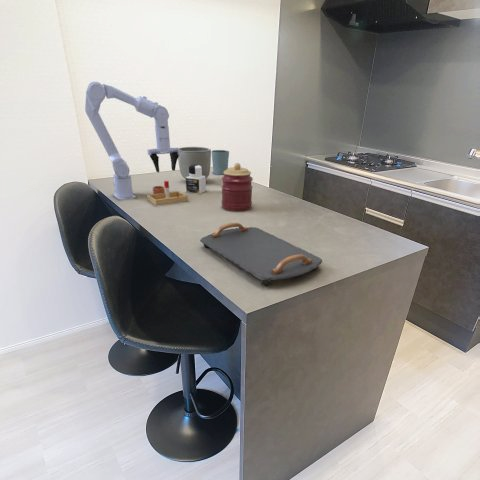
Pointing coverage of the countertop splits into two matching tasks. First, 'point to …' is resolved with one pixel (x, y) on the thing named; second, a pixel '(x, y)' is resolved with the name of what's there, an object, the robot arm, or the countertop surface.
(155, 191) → the cup
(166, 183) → the marker
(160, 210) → the countertop surface
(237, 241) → the serving tray
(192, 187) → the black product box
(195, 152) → the planter
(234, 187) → the kitchen canister
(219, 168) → the blue tapered pot
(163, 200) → the tray
